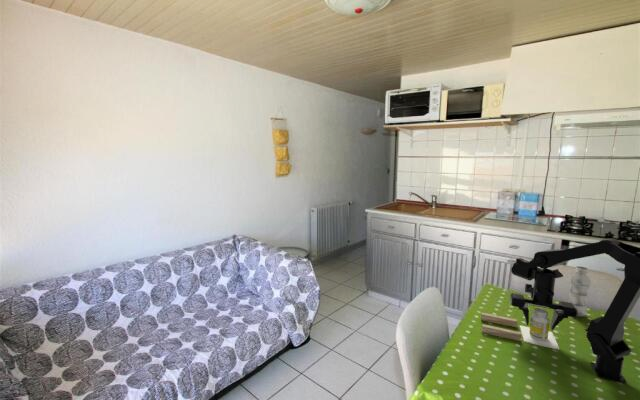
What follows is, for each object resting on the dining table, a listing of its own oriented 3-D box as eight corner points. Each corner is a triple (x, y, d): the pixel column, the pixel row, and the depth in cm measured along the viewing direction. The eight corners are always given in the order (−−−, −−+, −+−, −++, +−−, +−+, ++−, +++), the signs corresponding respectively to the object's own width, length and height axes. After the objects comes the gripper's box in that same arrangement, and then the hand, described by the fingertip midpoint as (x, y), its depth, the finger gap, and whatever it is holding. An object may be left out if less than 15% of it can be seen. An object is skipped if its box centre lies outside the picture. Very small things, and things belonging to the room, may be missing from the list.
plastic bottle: (562, 312, 126) (567, 266, 123) (571, 309, 129) (577, 264, 126) (580, 320, 120) (587, 272, 117) (589, 316, 123) (596, 269, 120)
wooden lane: (520, 341, 107) (521, 334, 106) (482, 332, 112) (482, 326, 112) (516, 325, 116) (517, 319, 116) (481, 318, 122) (481, 312, 121)
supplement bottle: (541, 332, 111) (544, 307, 110) (551, 341, 106) (554, 315, 104) (525, 331, 112) (528, 306, 110) (534, 340, 106) (537, 314, 105)
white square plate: (559, 349, 102) (559, 348, 102) (524, 341, 106) (524, 340, 106) (551, 332, 112) (551, 331, 112) (519, 326, 116) (519, 325, 116)
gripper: (570, 281, 109) (565, 322, 111) (510, 273, 117) (506, 310, 120) (580, 294, 99) (575, 338, 102) (513, 283, 107) (509, 324, 110)
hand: (539, 327), depth 108 cm, fingers open, 7 cm apart
